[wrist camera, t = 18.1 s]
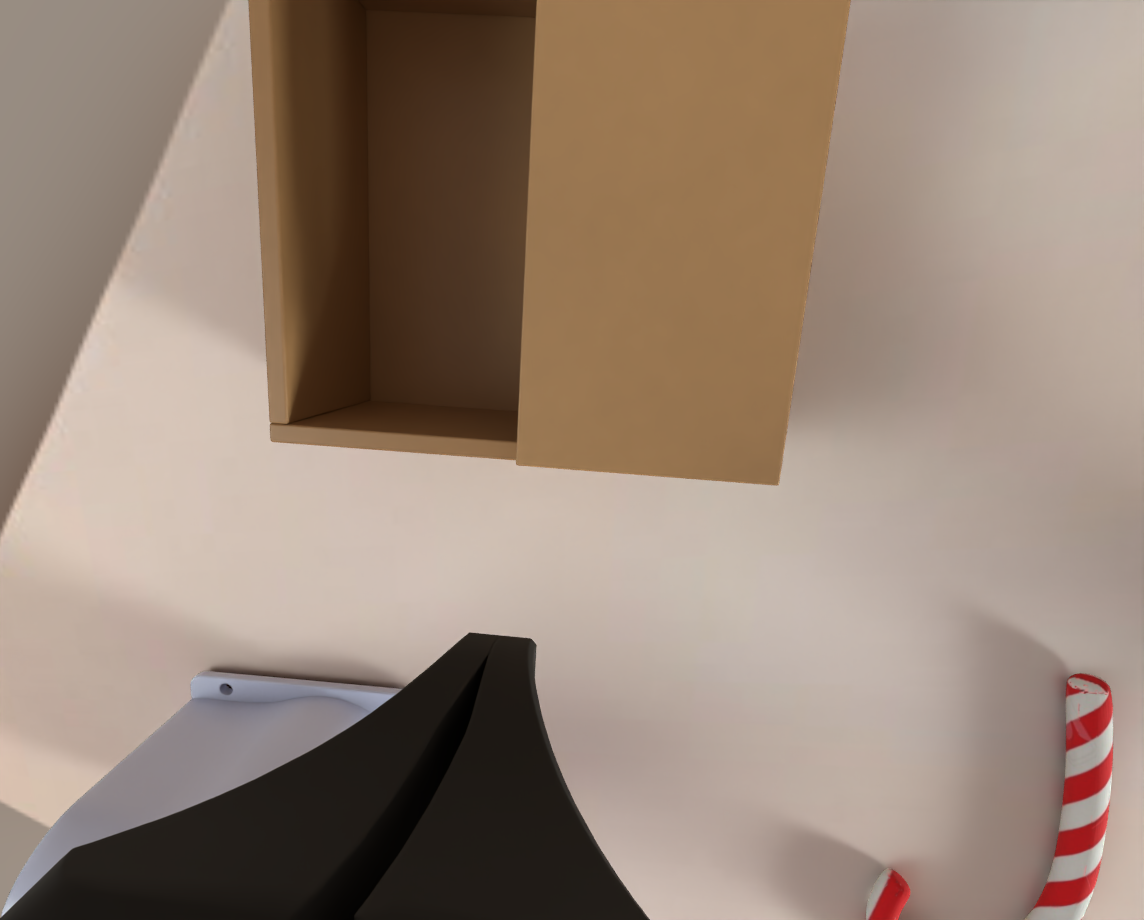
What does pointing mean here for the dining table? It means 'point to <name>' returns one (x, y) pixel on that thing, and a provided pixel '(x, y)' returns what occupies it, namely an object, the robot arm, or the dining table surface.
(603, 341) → the box flap
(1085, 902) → the candy cane
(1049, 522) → the dining table surface
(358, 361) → the cardboard box
